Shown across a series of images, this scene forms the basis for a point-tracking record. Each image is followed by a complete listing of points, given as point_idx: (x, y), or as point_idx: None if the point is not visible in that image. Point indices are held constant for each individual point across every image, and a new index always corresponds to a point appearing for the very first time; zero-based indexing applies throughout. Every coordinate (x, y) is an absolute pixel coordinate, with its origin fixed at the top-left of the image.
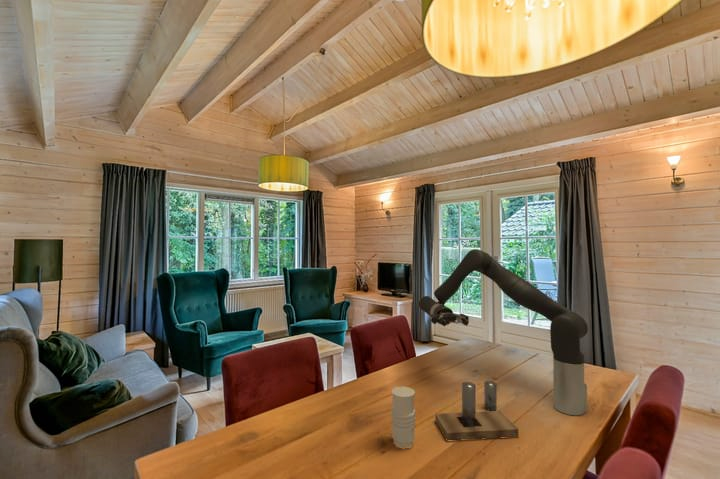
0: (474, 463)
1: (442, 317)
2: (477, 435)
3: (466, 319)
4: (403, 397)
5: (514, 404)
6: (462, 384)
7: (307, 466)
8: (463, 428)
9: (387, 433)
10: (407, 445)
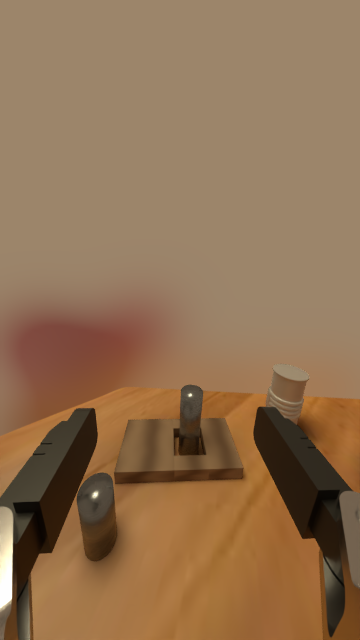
0: None
1: (347, 572)
2: None
3: (72, 417)
4: (284, 364)
5: None
6: (202, 392)
7: (353, 403)
8: (201, 425)
9: None
10: None
